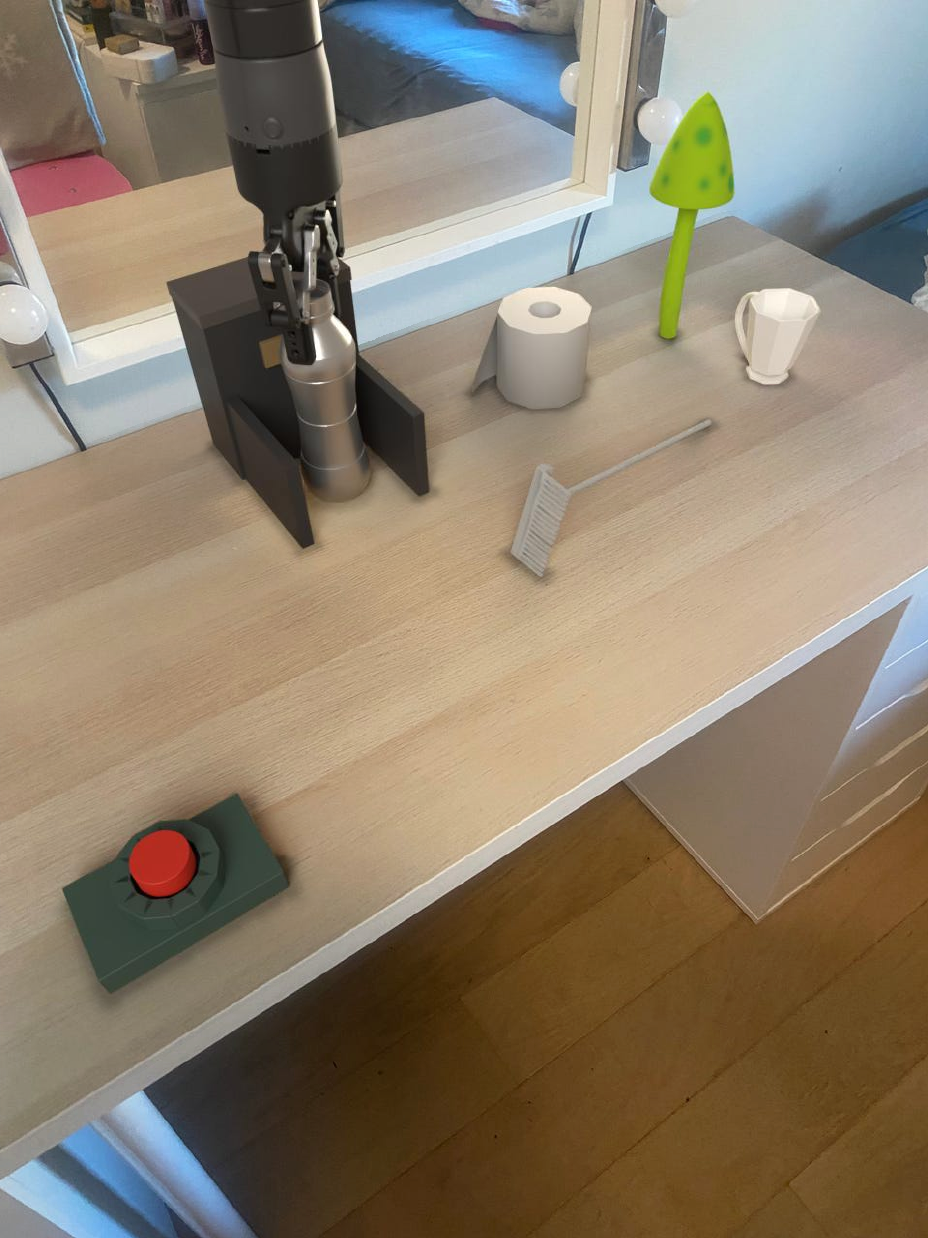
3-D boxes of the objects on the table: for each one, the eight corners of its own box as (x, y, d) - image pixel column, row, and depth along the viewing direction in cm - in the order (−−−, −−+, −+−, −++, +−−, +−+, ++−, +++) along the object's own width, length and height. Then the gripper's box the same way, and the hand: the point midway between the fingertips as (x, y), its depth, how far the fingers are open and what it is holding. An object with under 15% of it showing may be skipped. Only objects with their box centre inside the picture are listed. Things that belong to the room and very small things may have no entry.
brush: (717, 478, 92) (754, 400, 85) (540, 578, 76) (569, 493, 70) (688, 458, 94) (723, 380, 87) (509, 553, 78) (535, 466, 71)
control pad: (110, 995, 54) (88, 970, 51) (73, 903, 58) (50, 875, 55) (289, 887, 58) (278, 858, 55) (243, 809, 62) (231, 778, 59)
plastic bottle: (303, 514, 82) (263, 314, 67) (306, 468, 87) (269, 271, 72) (373, 509, 83) (348, 309, 68) (372, 463, 87) (349, 266, 72)
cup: (759, 398, 93) (778, 328, 87) (704, 351, 99) (718, 282, 93) (814, 382, 95) (836, 311, 89) (757, 336, 101) (774, 268, 95)
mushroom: (713, 323, 103) (762, 82, 85) (694, 360, 98) (742, 112, 80) (643, 309, 106) (676, 71, 87) (620, 344, 101) (651, 100, 82)
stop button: (149, 908, 53) (141, 895, 52) (128, 862, 55) (120, 849, 54) (205, 876, 55) (198, 863, 53) (183, 833, 57) (175, 819, 55)
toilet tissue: (452, 395, 95) (449, 321, 88) (544, 350, 100) (548, 277, 94) (508, 434, 90) (510, 359, 83) (602, 385, 95) (610, 310, 89)
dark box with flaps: (433, 490, 84) (423, 324, 71) (298, 551, 79) (262, 383, 66) (335, 396, 95) (312, 236, 82) (211, 443, 90) (165, 281, 77)
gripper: (264, 79, 66) (300, 293, 78) (185, 157, 57) (240, 385, 69) (362, 84, 65) (383, 300, 77) (298, 164, 55) (333, 395, 68)
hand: (315, 339), depth 73 cm, fingers closed on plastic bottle, 6 cm apart
